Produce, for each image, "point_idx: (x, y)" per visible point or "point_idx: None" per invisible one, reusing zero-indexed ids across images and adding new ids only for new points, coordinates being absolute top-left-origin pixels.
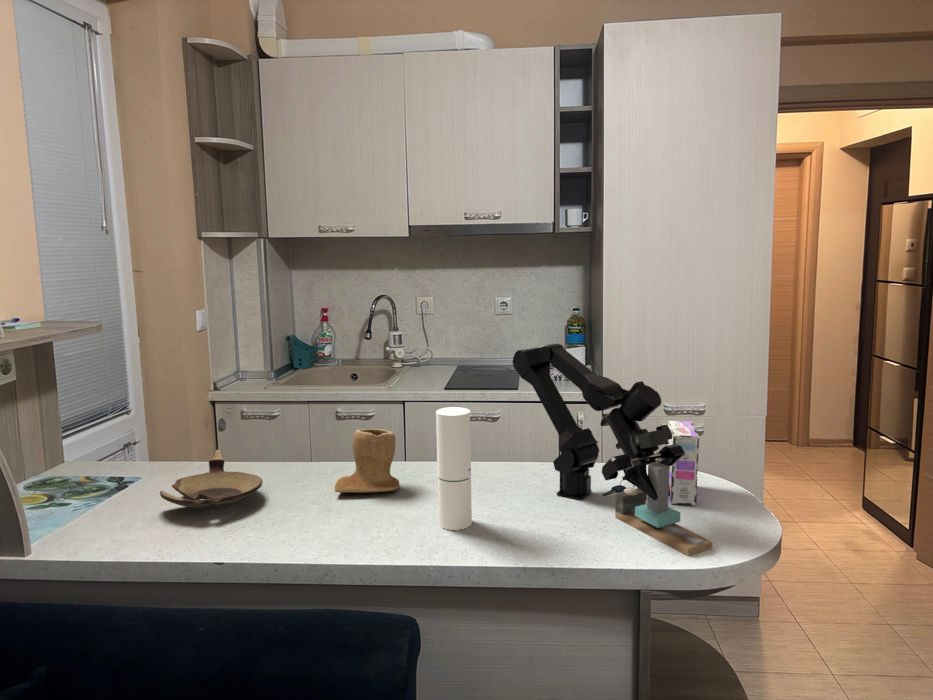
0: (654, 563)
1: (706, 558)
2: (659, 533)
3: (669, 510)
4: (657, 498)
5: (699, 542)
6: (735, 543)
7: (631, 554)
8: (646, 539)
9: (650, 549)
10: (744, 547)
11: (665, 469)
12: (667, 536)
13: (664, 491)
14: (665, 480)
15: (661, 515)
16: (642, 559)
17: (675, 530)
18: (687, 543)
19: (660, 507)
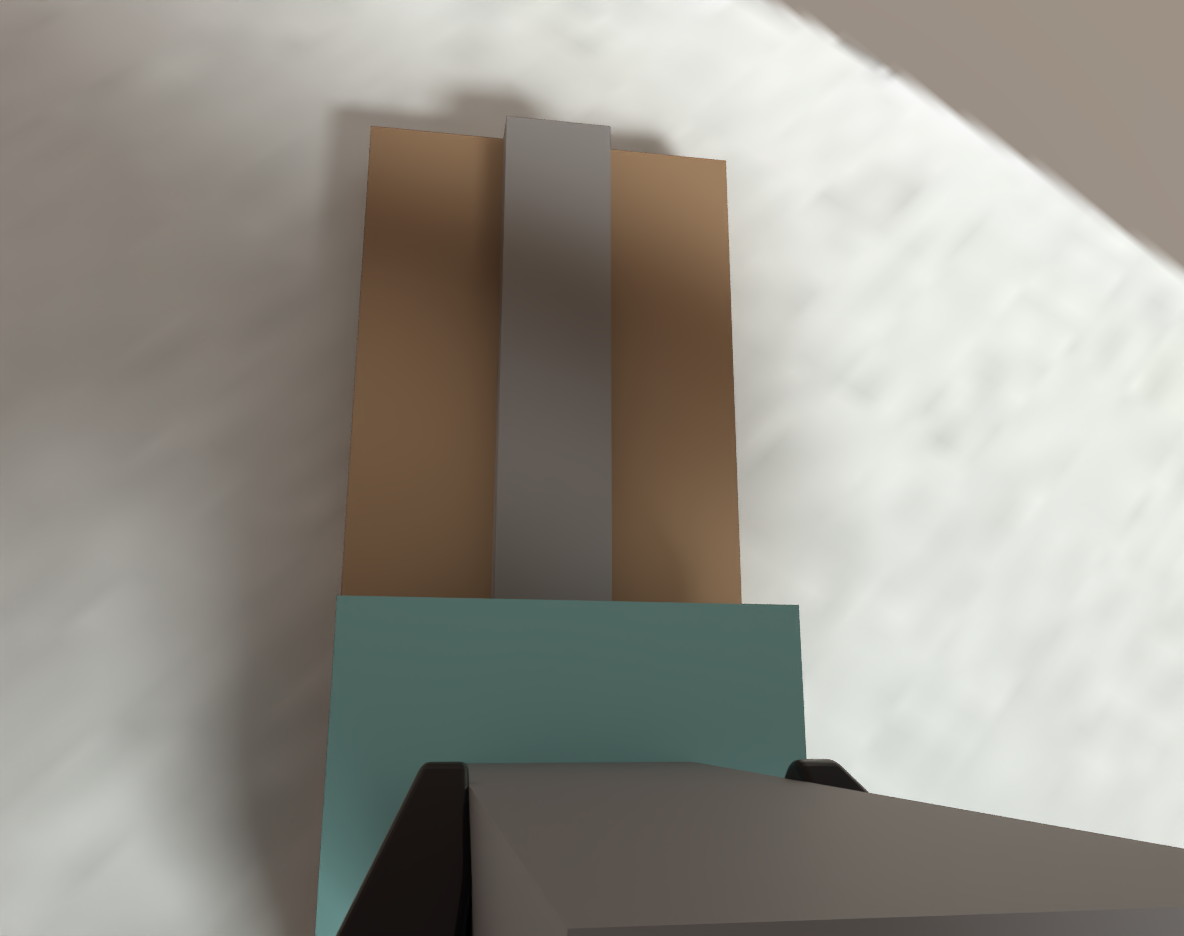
0: (1052, 270)
1: (584, 82)
2: (734, 590)
3: (427, 756)
4: (803, 760)
5: (570, 127)
6: (41, 116)
7: (1137, 508)
8: (808, 699)
9: (919, 492)
10: (51, 14)
11: (869, 885)
12: (706, 481)
13: (614, 791)
14: (661, 823)
15: (687, 661)
16: (1102, 380)
17: (583, 472)
18: (641, 241)
19: (642, 768)
